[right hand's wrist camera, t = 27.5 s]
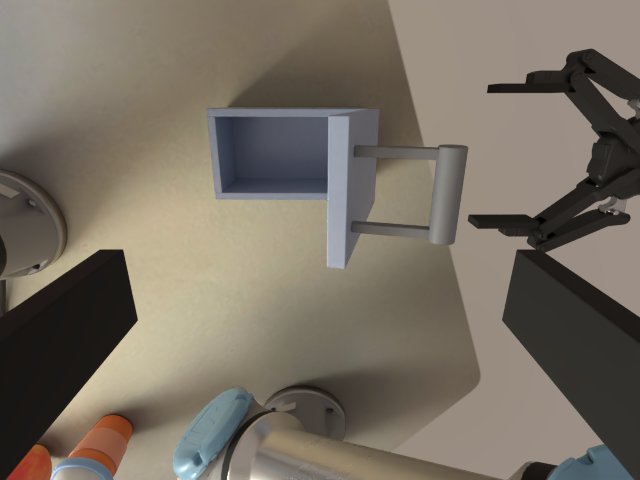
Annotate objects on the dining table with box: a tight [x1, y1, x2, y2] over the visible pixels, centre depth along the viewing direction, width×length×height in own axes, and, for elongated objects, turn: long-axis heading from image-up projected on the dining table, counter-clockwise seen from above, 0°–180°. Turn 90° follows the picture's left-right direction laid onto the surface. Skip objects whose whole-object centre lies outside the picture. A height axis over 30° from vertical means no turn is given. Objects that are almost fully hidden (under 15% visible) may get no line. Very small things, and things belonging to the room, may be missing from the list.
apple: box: [6, 444, 52, 480], centre depth 64 cm, size 10×10×10 cm
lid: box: [327, 109, 468, 269], centre depth 31 cm, size 18×10×8 cm
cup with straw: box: [51, 415, 133, 480], centre depth 58 cm, size 9×9×18 cm
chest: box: [207, 107, 369, 200], centre depth 45 cm, size 18×10×9 cm, turn 90°
